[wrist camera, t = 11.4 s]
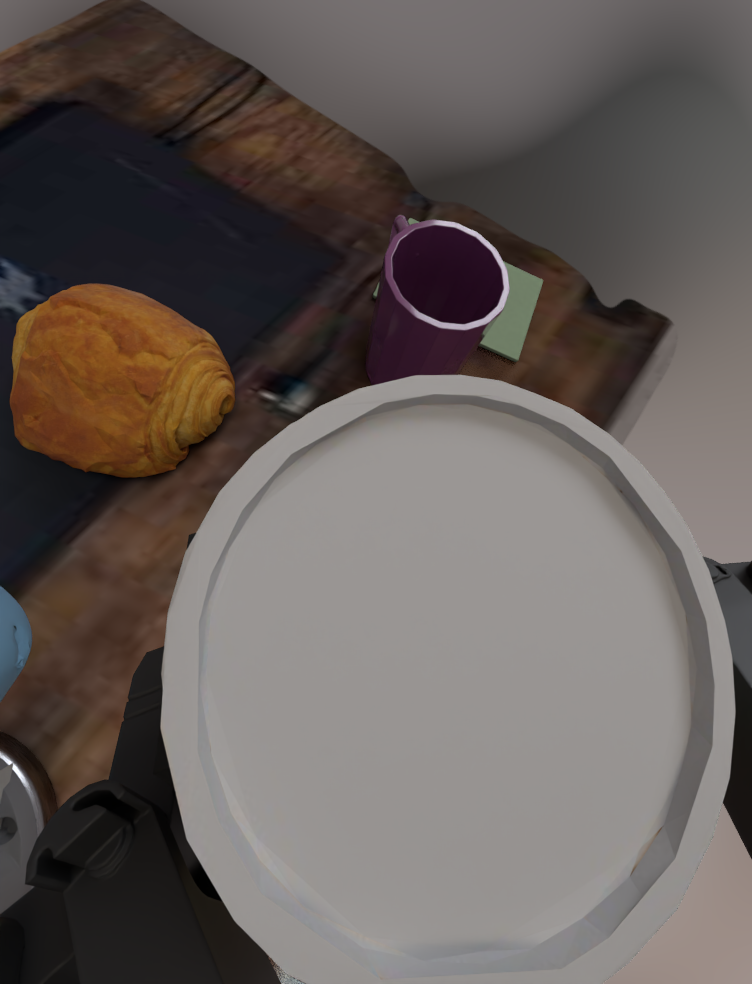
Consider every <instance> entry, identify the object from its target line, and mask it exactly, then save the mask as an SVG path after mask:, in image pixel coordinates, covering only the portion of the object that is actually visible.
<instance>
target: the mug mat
mask: <svg viewBox="0 0 752 984" xmlns="http://www.w3.org/2000/svg"><path fill="white" fill-rule="evenodd" d="M408 222H409V224H410V225H411V224H414V223H419V222H418V221H416V220H414V219H411V218H410V219H409V221H408ZM504 264H505V266H506V268H507V271H508V279H509V287H510V292H509V295H508V298H507V301H506V303H505V306H504V309H503V311H502V312H501V314H500V315H499V317H498V318H497V319H496V321H495V322H494V324H493V325H492V327H491V328H490V330H489V331H488V332H487V334H486V335H485V337H484V338H483V340H482V341H481V342H480V344H479V345H478V346H481V347H483V348H485V349H487V350H489V351H492V352H494V353H496V354H498V355H501V356H503V357H505V358H507V359H509V360H512V361H514V362H517V361H518V359H519V355H520V352H521V349H522V346H523V343H524V340H525V337H526V333H527V330H528V327H529V324H530V321H531V318H532V314H533V311H534V308H535V305H536V302H537V299H538V296H539V292H540V289H541V286H542V283H543V280H542V279H539V278H537V277H535V276H533V275H531V274H529V273H527V272H525V271H522V270H520V269H518V268H516V267H514V266H512V265H510V264H507V263H505V262H504ZM378 287H379V284H378V286H377V288H376V290H375V292H374V294H373V298H374V299H376V297H377V292H378Z"/></svg>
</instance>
